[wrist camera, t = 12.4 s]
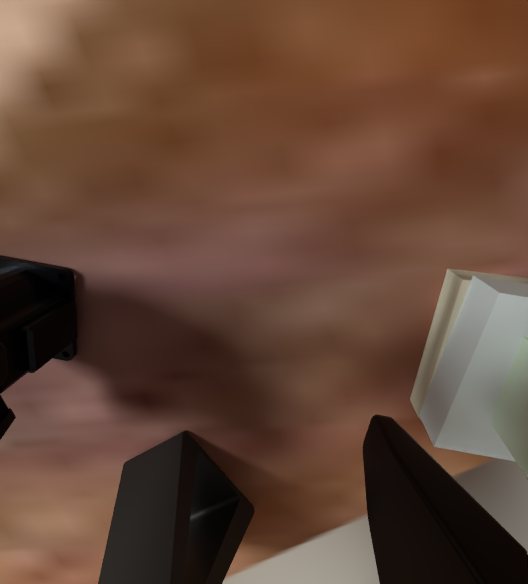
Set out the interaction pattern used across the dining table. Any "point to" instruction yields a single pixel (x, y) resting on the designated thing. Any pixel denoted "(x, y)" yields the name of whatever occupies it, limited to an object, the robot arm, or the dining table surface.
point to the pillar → (515, 409)
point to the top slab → (476, 368)
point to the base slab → (445, 327)
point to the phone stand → (174, 518)
